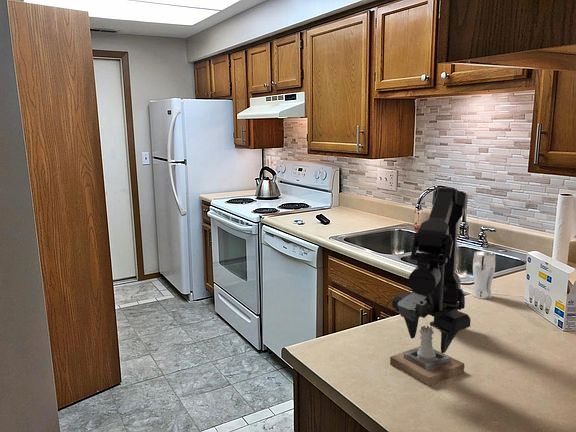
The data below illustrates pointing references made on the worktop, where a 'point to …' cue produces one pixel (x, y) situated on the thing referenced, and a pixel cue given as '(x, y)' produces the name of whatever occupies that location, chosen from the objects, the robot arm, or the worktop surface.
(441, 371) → the plinth
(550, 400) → the worktop surface
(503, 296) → the worktop surface
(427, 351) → the rook chess piece
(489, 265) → the beer glass
